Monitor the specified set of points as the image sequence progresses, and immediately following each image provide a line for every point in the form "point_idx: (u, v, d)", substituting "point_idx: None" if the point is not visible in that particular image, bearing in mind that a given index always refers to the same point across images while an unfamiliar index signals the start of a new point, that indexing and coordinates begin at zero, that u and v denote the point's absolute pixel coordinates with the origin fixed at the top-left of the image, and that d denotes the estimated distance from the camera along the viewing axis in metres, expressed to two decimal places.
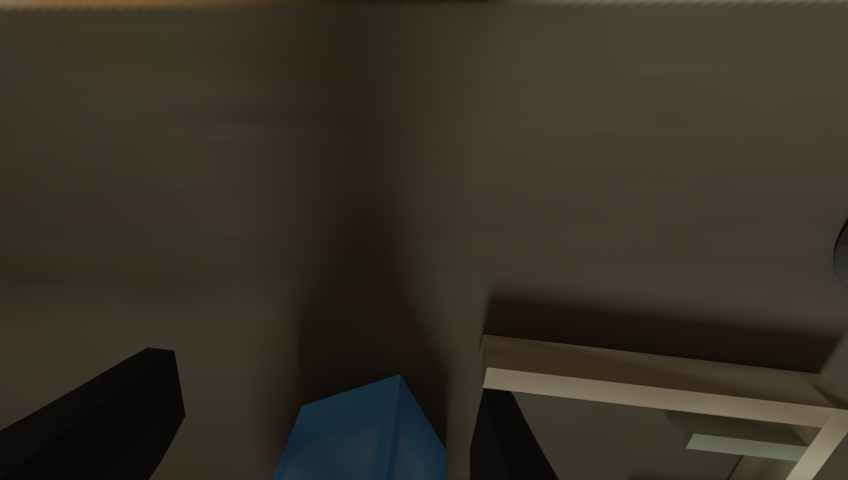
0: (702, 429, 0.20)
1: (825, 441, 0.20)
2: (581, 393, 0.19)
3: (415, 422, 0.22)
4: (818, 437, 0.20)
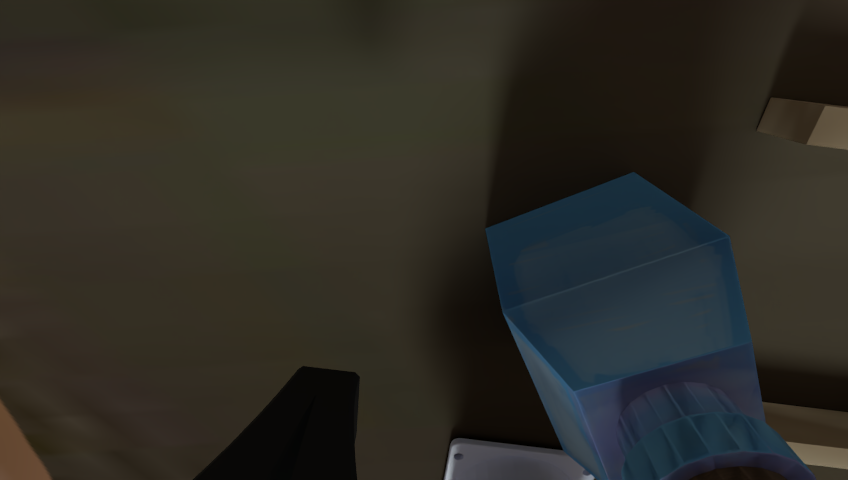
0: None
1: None
2: None
3: None
4: None
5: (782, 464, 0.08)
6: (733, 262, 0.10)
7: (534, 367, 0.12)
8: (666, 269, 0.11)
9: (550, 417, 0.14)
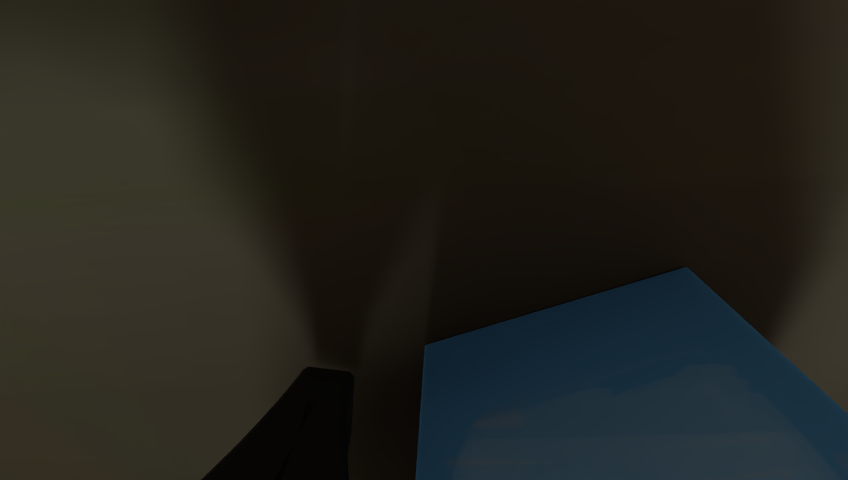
0: None
1: None
2: None
3: None
4: None
5: None
6: None
7: None
8: None
9: None
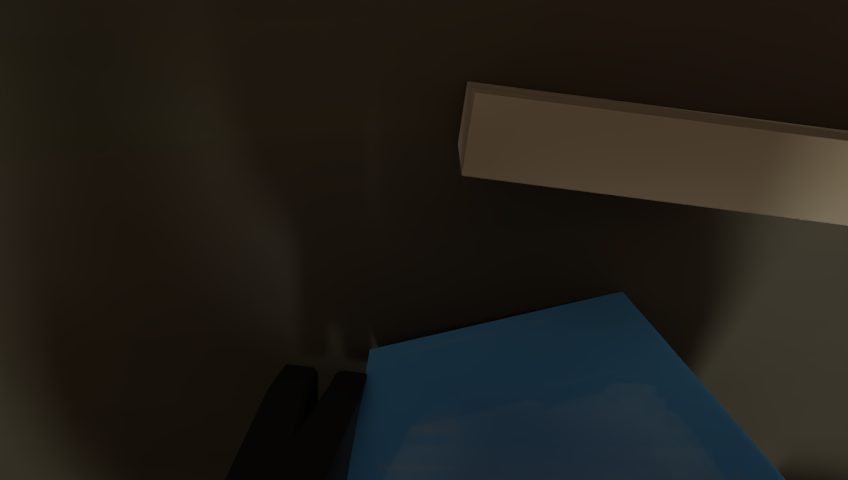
0: None
1: None
2: (766, 192, 0.06)
3: None
4: None
5: None
6: None
7: None
8: None
9: None
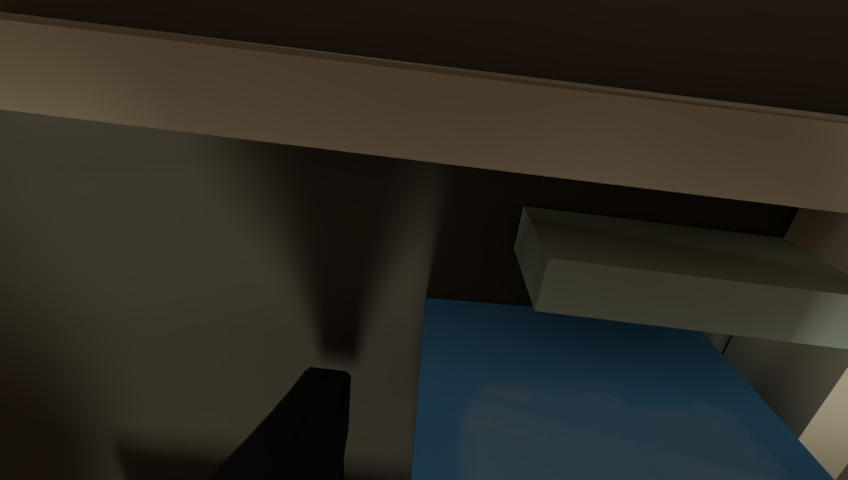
0: (580, 253, 0.07)
1: None
2: (168, 105, 0.06)
3: None
4: None
5: None
6: None
7: None
8: None
9: None
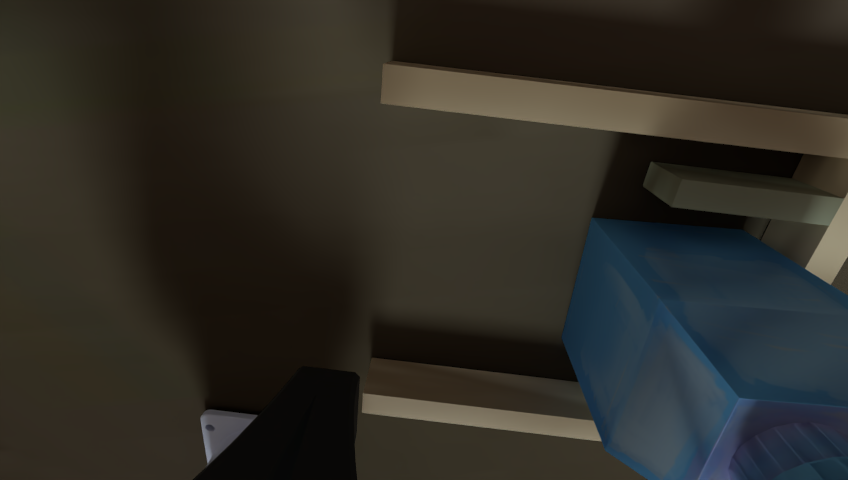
0: (694, 178, 0.14)
1: None
2: (520, 108, 0.13)
3: None
4: None
5: None
6: None
7: (661, 363, 0.12)
8: (826, 323, 0.12)
9: (622, 415, 0.14)
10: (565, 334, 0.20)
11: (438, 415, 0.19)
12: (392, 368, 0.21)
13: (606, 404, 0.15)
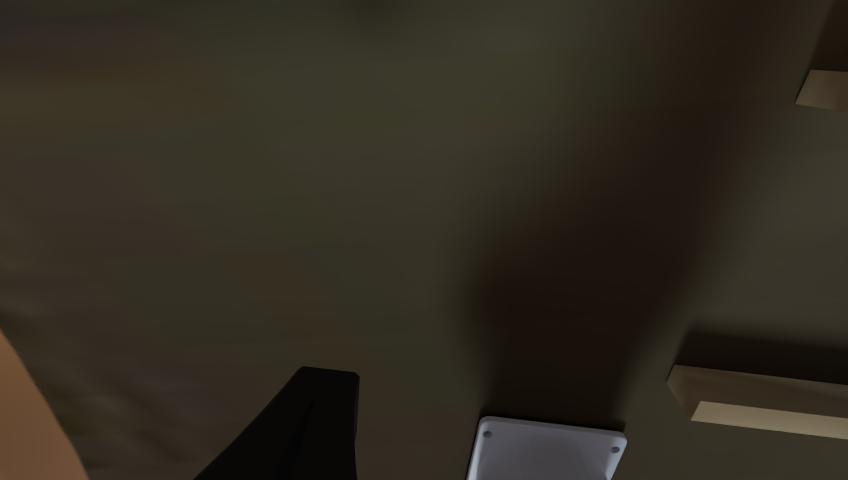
0: None
1: None
2: None
3: None
4: None
5: None
6: None
7: None
8: None
9: None
10: None
11: (770, 423, 0.19)
12: (703, 375, 0.21)
13: None
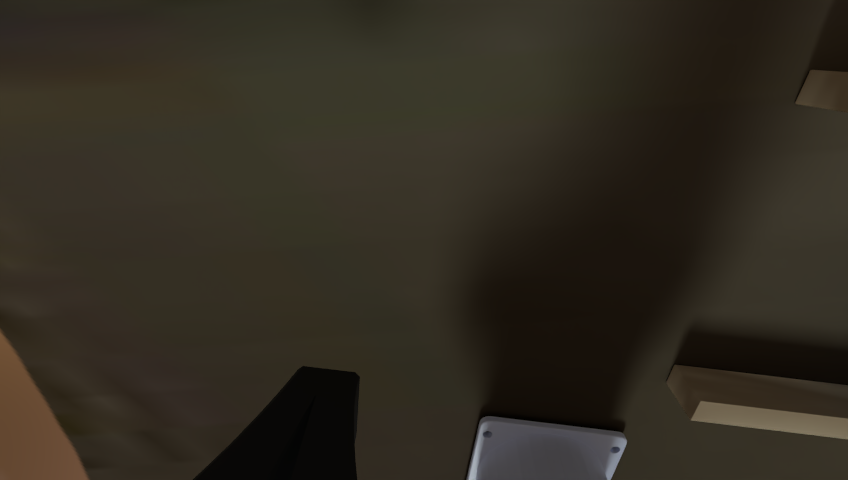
0: None
1: None
2: None
3: None
4: None
5: None
6: None
7: None
8: None
9: None
10: None
11: (770, 423, 0.19)
12: (703, 375, 0.21)
13: None
